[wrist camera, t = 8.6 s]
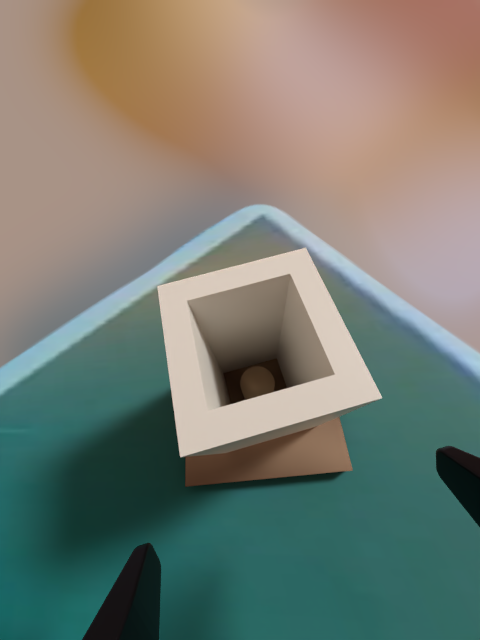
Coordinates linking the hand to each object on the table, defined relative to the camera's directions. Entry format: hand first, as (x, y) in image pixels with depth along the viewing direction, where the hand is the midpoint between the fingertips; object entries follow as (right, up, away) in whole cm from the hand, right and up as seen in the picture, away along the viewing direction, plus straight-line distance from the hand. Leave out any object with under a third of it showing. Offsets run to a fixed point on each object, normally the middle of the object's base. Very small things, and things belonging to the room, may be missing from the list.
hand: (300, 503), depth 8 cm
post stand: (-1, 0, +11) cm, 11 cm away
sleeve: (-1, 0, +10) cm, 10 cm away
